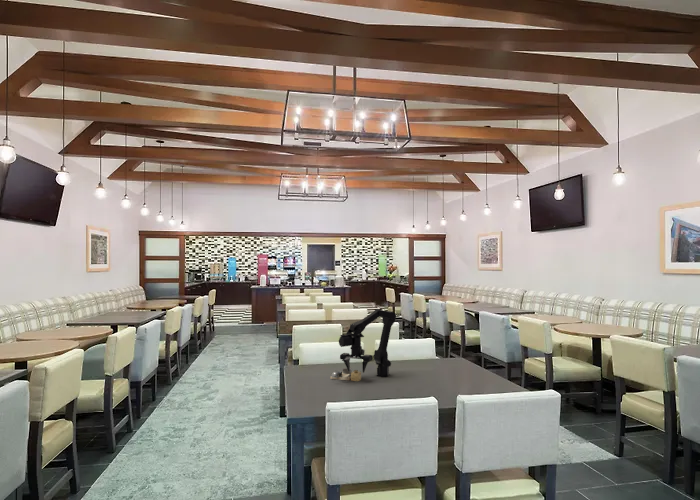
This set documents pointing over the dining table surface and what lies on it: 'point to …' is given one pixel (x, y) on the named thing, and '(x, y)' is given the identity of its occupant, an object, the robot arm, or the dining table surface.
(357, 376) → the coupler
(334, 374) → the shaft
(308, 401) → the dining table surface
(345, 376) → the cream mounting plate
